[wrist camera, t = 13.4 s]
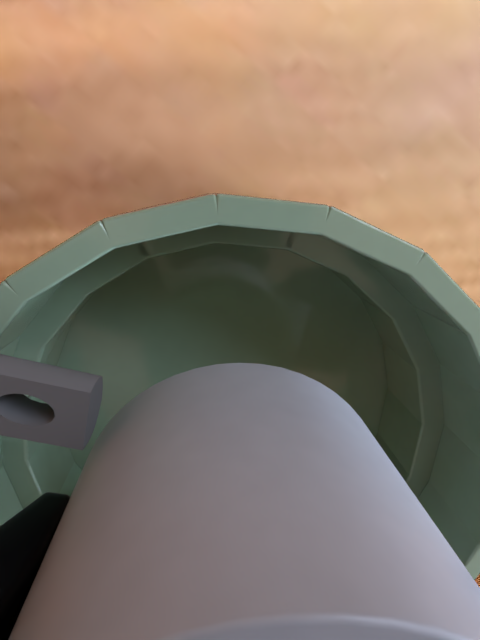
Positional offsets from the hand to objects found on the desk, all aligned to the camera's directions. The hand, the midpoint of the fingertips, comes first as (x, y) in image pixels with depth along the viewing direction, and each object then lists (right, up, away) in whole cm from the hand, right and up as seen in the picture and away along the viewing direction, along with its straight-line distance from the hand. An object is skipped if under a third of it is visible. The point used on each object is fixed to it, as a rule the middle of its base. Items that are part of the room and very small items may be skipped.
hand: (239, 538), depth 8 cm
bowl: (0, +2, +5) cm, 6 cm away
